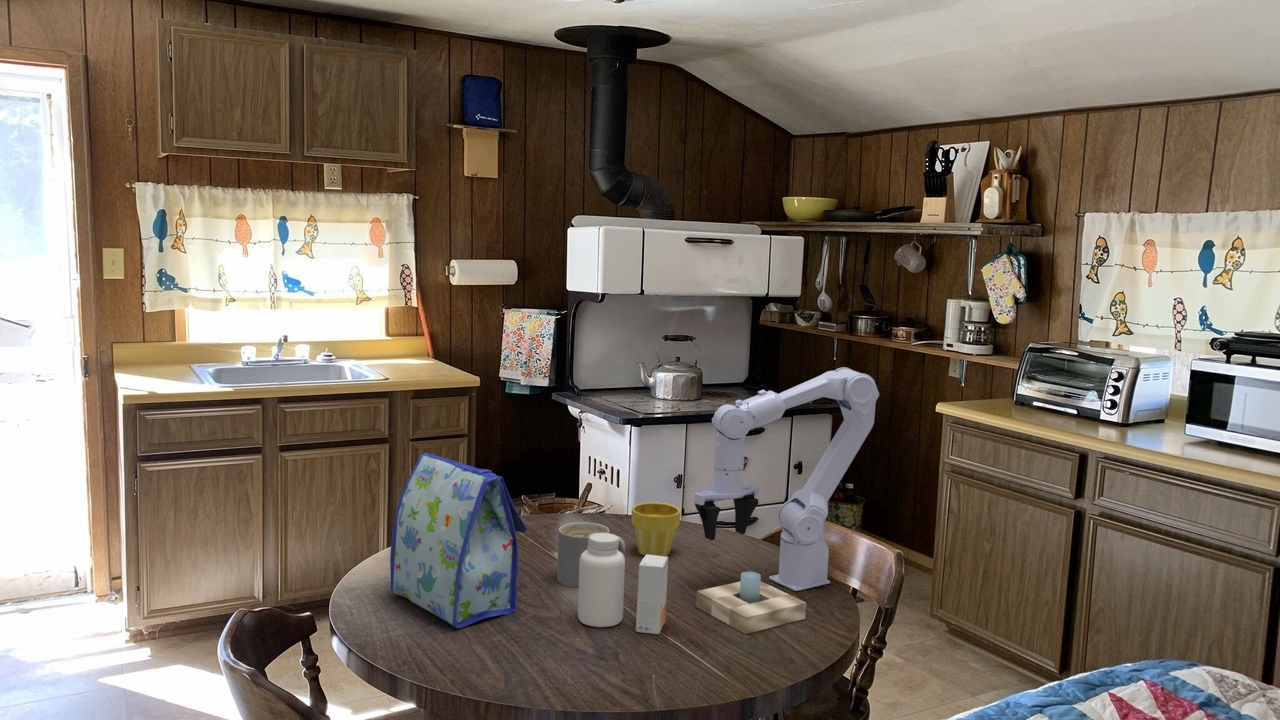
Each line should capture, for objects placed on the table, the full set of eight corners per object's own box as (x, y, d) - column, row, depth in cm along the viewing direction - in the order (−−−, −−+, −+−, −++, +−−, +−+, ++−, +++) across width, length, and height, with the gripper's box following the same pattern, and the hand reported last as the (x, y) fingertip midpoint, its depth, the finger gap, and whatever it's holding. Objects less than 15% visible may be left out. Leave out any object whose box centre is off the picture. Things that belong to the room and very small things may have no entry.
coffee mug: (557, 588, 182) (559, 537, 181) (556, 570, 192) (557, 521, 191) (627, 587, 184) (629, 537, 183) (622, 570, 194) (624, 522, 192)
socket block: (754, 593, 183) (755, 578, 183) (805, 618, 172) (806, 602, 172) (696, 606, 176) (696, 591, 175) (745, 634, 164) (746, 617, 164)
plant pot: (679, 562, 200) (681, 516, 198) (629, 560, 200) (631, 514, 199) (677, 546, 210) (679, 502, 209) (630, 544, 210) (632, 501, 209)
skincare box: (659, 635, 162) (662, 567, 161) (635, 632, 163) (637, 564, 162) (666, 621, 168) (668, 556, 167) (642, 618, 169) (644, 553, 168)
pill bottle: (629, 615, 171) (632, 533, 169) (613, 631, 163) (616, 546, 161) (588, 607, 173) (590, 527, 171) (570, 624, 166) (572, 540, 164)
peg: (750, 607, 177) (752, 570, 176) (762, 613, 174) (764, 576, 173) (734, 610, 175) (736, 573, 174) (746, 617, 172) (748, 579, 171)
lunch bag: (531, 609, 172) (534, 467, 168) (454, 634, 160) (456, 482, 156) (456, 576, 187) (458, 445, 183) (381, 597, 175) (382, 457, 171)
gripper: (744, 459, 192) (740, 525, 193) (686, 466, 184) (682, 535, 185) (767, 467, 186) (763, 534, 188) (708, 475, 178) (705, 545, 180)
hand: (725, 535), depth 186 cm, fingers open, 7 cm apart
